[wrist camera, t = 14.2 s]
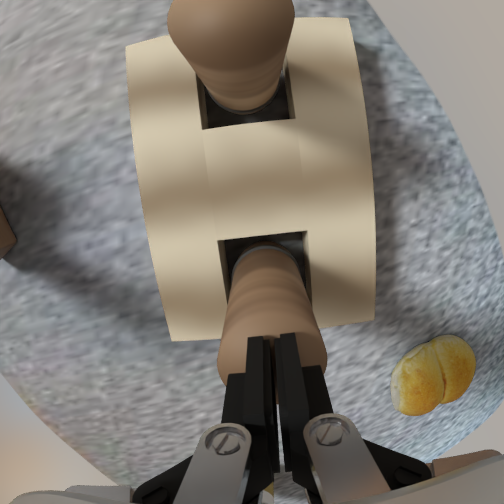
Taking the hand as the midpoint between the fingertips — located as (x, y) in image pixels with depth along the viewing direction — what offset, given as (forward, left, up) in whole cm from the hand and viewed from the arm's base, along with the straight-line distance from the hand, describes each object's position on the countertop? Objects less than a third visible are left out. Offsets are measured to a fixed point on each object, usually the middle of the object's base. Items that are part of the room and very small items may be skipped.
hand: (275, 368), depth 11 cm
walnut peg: (0, 0, -12) cm, 12 cm away
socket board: (-6, 0, -12) cm, 14 cm away
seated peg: (-12, 0, -12) cm, 17 cm away
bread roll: (+13, +14, -13) cm, 23 cm away
